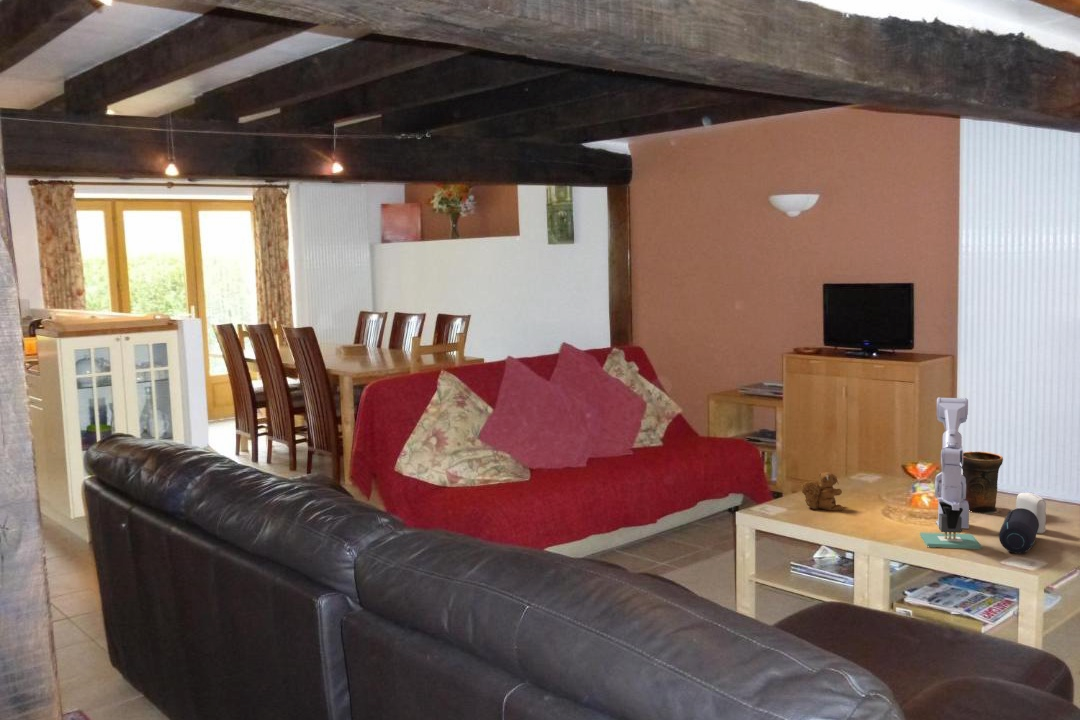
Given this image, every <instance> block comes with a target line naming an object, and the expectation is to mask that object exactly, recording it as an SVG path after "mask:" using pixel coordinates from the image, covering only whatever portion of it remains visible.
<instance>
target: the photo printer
mask: <svg viewBox="0 0 1080 720" xmlns="http://www.w3.org/2000/svg"><path fill="white" fill-rule="evenodd" d="M1015 505H1016V506H1015V507H1016V508H1015V509H1017V508H1023V509H1027V510H1030V511H1031V512H1033V513H1034V514H1035V515H1036V517H1037V519H1038V521H1039V528H1038V531H1037V534H1044V533H1045V532H1046V512H1047V511H1046V509H1047V503H1046V500H1045V499H1044V498H1043V497H1041V496H1040V495H1038V494H1035V493H1032V492H1020V493H1019V494H1017V497H1016V504H1015Z"/></svg>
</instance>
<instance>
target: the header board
mask: <svg viewBox="0 0 1080 720" xmlns="http://www.w3.org/2000/svg"><path fill="white" fill-rule="evenodd" d="M919 536H921V537H920V538H921V540H922V539H923V540H924V541H923V540H922V541H923V543H924V542H925V543H924V544H925V546H926V545H927V546H929V547H928V548H936V547H942V548H943V549H962V550H963V549H968V550H970V549H971V550H982V544H981V543H980V542H979V541H978V540H977V538H976V537H975V536H974V535H973V534H971V533H953V532H938V533H937V532H919ZM927 546H926V547H927Z"/></svg>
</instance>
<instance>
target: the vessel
mask: <svg viewBox="0 0 1080 720" xmlns="http://www.w3.org/2000/svg"><path fill="white" fill-rule="evenodd" d="M1003 462H1004V458H1003V456H1001V455H1000V454H997V453H992V452H988V451H966V452H965V451H963V466H962V463H961V462H960V465H961V470H962V475H963V476H964V477H965V479H966V499H964V500H966V501H968V504H969V510H970V511H972V512H971V513H973V514H978V515H979V514H982V515H984V514H987V515H988V514H989V515H993V514H996V513H999V512H1001V511H1002V510H1001V509H1000V508H996V506H997V505H996V504H997V497H998V496H997V495H998V481H999V480H998V478H999V471H1000V468H1001V466H1002V465H1003ZM970 511H969V512H970Z"/></svg>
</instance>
